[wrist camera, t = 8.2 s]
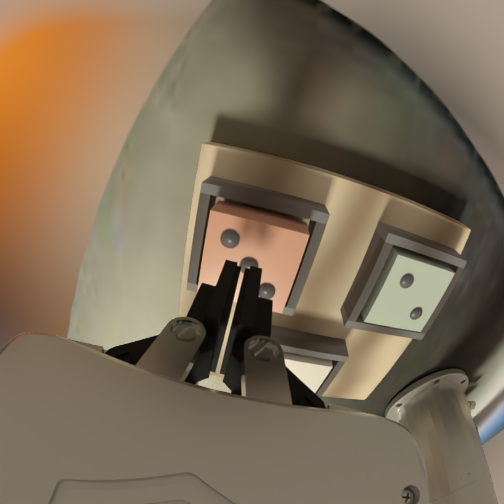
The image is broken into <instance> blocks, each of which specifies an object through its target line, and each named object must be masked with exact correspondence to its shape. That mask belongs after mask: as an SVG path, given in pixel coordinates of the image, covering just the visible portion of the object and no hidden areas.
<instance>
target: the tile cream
mask: <svg viewBox="0 0 504 504" xmlns="http://www.w3.org/2000/svg"><path fill="white" fill-rule="evenodd" d="M283 354H284V359H285V365H286V367H287V368H288V369H289V370H290V371H291V372H293V373H294V374H295V375H296V376H297V377H298V378H299V379H300V380H301V381H302V382H303V383H304V384H305V385H306V386H307V387H309V388H310V389H311V390H312V391H313V392H314V393H316V391H317V390H318V388H319V387H320V385H321V384H322V382H323V381H324V379H325V378H326V376H327V375H328V373H329V372H330V370H331V369H332V367H333V366H332V360H329V359H323V358H317V357H311V356H306V355H300V354H295V353H290V352H285V351H283Z"/></svg>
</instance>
